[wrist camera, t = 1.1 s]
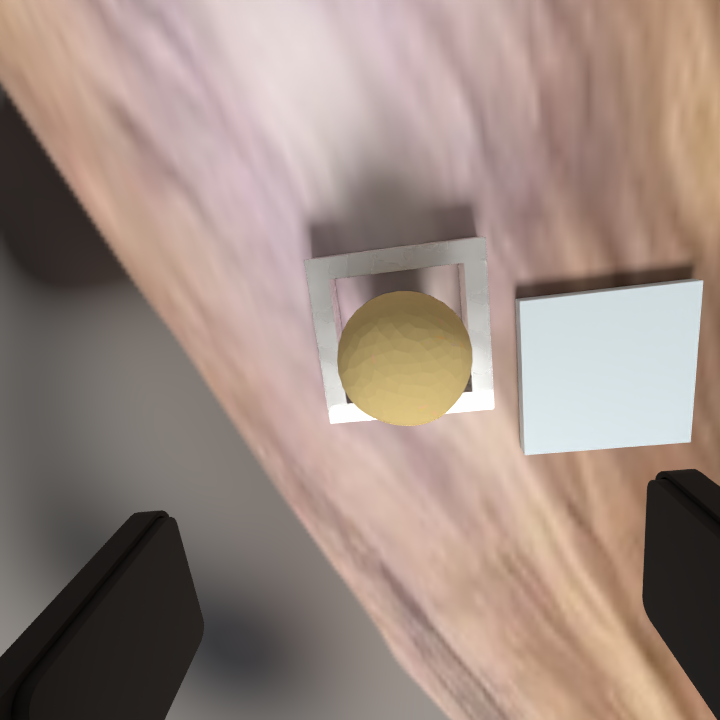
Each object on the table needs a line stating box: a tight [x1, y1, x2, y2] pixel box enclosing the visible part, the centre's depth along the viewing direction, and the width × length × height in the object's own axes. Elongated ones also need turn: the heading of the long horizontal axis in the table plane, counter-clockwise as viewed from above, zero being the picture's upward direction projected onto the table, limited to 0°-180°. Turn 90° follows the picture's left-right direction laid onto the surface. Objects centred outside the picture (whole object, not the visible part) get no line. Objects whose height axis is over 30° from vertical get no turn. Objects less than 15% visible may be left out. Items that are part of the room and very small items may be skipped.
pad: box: [515, 279, 703, 455], centre depth 27 cm, size 10×10×1 cm
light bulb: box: [337, 291, 473, 426], centre depth 23 cm, size 6×6×10 cm
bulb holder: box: [304, 236, 494, 424], centre depth 27 cm, size 10×10×2 cm
